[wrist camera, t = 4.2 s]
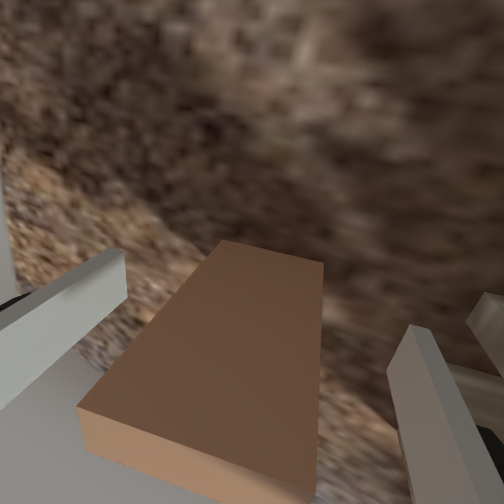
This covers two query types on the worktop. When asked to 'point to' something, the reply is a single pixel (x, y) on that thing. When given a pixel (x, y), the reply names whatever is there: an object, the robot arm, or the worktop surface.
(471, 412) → the domino
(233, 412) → the domino end
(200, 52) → the worktop surface
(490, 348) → the domino
